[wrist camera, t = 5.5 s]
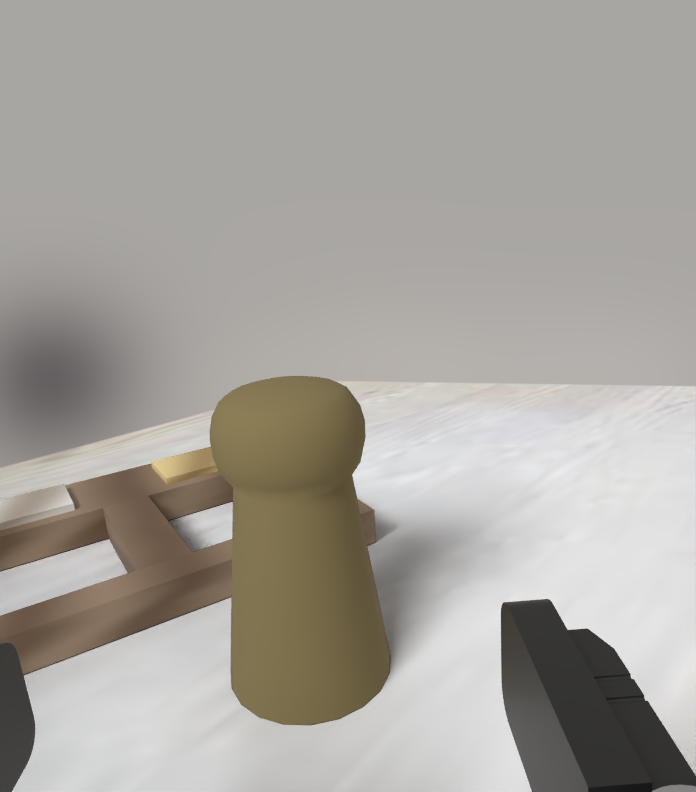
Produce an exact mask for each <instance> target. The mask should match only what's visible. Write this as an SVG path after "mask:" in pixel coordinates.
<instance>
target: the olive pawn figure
mask: <svg viewBox="0 0 696 792" xmlns="http://www.w3.org/2000/svg"><path fill="white" fill-rule="evenodd" d="M364 441H365V419H364V416H363V413H362V410H361V407H360V404H359V403H358V402H357V400H356V399H355V397H354V396H353V395H352V393H351V392H350V391H349V390H348V388H347V387H345V386H343V385H341V384H339V383H337V382H335V381H332V380H330V379H326V378H320V377H307V376H288V377H287V376H286V377H277V378H271V379H265V380H261V381H256V382H252V383H249V384H246V385H243V386H240V387H238V388H237V389H235V390H232V391H231V392H230V393H228V394H227V395H226V396H224V397H223V398H222V400H221V401H219V403H218V405H217V407H216V409H215V411H214V413H213V415H212V419H211V427H210V443H211V450H212V456H213V459H214V462H215V464H216V466H217V469H218V471H219V473H220V475H221V476H222V477H223V478H224V479H225V480H226V481H227V482H228V483H229V484H230V485H231V486H232V487H233V538H232V609H231V685H232V690H233V691H234V693H235V695H236V697H237V698H238V700H239V702H240V703H241V705H243V706H244V707H245V708H247V709H248V710H250V711H251V712H252V713H254V714H255V715H257V716H258V717H260V718H264V719H267V720H270V721H274V722H277V723H280V724H288V725H314V724H318V723H323V722H327V721H332V720H336V719H340V718H342V717H344V716H346V715H348V714H350V713H352V712H354V711H356V710H358V709H360V708H362V707H363V706H364V705H365V704H367V703H368V702H369V701H370V700H371V699H372V698H373V697H374V696H375V695H376V694H377V693H379V692H380V690H381V688H382V686H383V685H384V683H385V681H386V679H387V677H388V675H389V670H390V652H389V648H388V643H387V638H386V633H385V629H384V624H383V619H382V614H381V610H380V605H379V600H378V595H377V591H376V586H375V581H374V577H373V572H372V567H371V562H370V558H369V553H368V548H367V543H366V539H365V534H364V529H363V524H362V520H361V515H360V510H359V505H358V501H357V496H356V491H355V487H354V482H353V477H352V474H353V472H354V471H355V469H356V468H357V466H358V465H359V463H360V461H361V456H362V451H363V446H364Z"/></svg>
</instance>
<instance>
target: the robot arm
mask: <svg viewBox="0 0 696 792" xmlns="http://www.w3.org/2000/svg"><path fill="white" fill-rule="evenodd" d="M501 664H502V691H503V699H504V705H505V710H506V715H507V719H508V722H509V725H510V728H511V731H512V734H513V737H514V740H515V743H516V746H517V749H518V752H519V755H520V757H521V760H522V763H523V766H524V769H525V772H526V775H527V778H528V781H529V784H530V787H531V790H532V792H696V776H695V774H694V772H693V771H692V769H691V768H690V766H689V765H688V763H687V762H686V760H685V758H684V757H683V755H682V754H681V752H680V751H679V749H678V748H677V746H676V744H675V743H674V741H673V740H672V738H671V737H670V735H669V734H668V732H667V730H666V729H665V727H664V726H663V724H662V723H661V721H660V720H659V718H658V716H657V715H656V713H655V712H654V710H653V709H652V707H651V706H650V704H649V702H648V701H645V699H644V695H643V693H642V691H641V690H640V688H639V687H638V685H637V684H636V682H635V681H634V679H631V676H630V673H629V671H628V670H627V668H626V667H625V665H624V663H623V662H622V660H621V659H620V657H619V656H618V654H617V653H616V651H615V649H614V648H612V647H611V646H610V645H608V644H607V643H606V642H604V641H603V640H602V639H600V638H599V637H598V636H597V635H595V634H594V633H593V632H591V631H590V630H589V629H577V630H567V628H566V627H565V625H564V623H563V621H562V620H561V618H560V616H559V614H558V612H557V611H556V609H555V607H554V605H553V604H552V602H551V601H550V600H549V599H543V600H530V601H517V602H504V603H503V604H502V608H501ZM34 738H35V721H34V716H33V712H32V708H31V704H30V700H29V696H28V692H27V688H26V684H25V680H24V676H23V672H22V668H21V664H20V660H19V656H18V653H17V651H16V649H15V647H14V646H13V645H12V644H11V643H0V792H12V790H13V788H14V787H15V785H16V783H17V781H18V779H19V778H20V776H21V774H22V772H23V770H24V769H25V767H26V765H27V763H28V761H29V758H30V756H31V753H32V749H33V745H34Z"/></svg>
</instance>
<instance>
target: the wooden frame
mask: <svg viewBox="0 0 696 792" xmlns="http://www.w3.org/2000/svg"><path fill="white" fill-rule="evenodd" d="M231 501H233V487H232V486H231V485H230V484H229V483H228V482H227V481H226V480H225V479H224V478H223V477H222V476H221V475H220V473H219V471H218V469H217V466H216V464H215V462H214V459H213V456H212V450H211V447H208V448H204V449H200V450H196V451H192V452H188V453H184V454H180V455H176V456H172V457H168V458H164V459H160V460H156V461H152V462H151V464H148V465H144V466H140V467H136V468H132V469H128V470H124V471H120V472H116V473H112V474H108V475H104V476H101V477H97V478H93V479H89V480H85V481H81V482H77V483H73V484H69V485H64V484H61V485H57V486H53V487H50V488H46V489H42V490H38V491H34V492H30V493H26V494H22V495H18V496H14V497H10V498H6V499H2V500H0V571H1V570H5V569H8V568H11V567H15V566H18V565H21V564H25V563H28V562H31V561H35V560H38V559H41V558H45V557H48V556H51V555H55V554H58V553H61V552H65V551H68V550H71V549H75V548H78V547H81V546H85V545H88V544H91V543H95V542H98V541H101V540H105V539H108V538H109V540H110V541H111V543H112V545H113V547H114V549H115V550H116V552H117V554H118V556H119V558H120V560H121V561H122V563H123V565H124V567H125V569H126V570H127V572H128V574H125V575H122V576H119V577H116V578H113V579H110V580H107V581H104V582H101V583H98V584H95V585H92V586H89V587H86V588H83V589H80V590H77V591H74V592H71V593H68V594H65V595H62V596H59V597H56V598H53V599H50V600H47V601H44V602H41V603H38V604H35V605H31V606H28V607H25V608H22V609H19V610H16V611H13V612H10V613H7V614H4V615H1V616H0V643H11V644H12V645H13V646H14V647H15V649H16V651H17V653H18V656H19V660H20V664H21V668H22V672H23V675H24V674H27V673H29V672H32V671H35V670H37V669H40V668H42V667H45V666H48V665H50V664H53V663H56V662H58V661H61V660H64V659H66V658H69V657H72V656H74V655H77V654H80V653H82V652H85V651H88V650H90V649H93V648H96V647H98V646H101V645H104V644H106V643H109V642H112V641H114V640H117V639H119V638H122V637H125V636H127V635H130V634H133V633H135V632H138V631H141V630H143V629H146V628H149V627H151V626H154V625H157V624H159V623H162V622H165V621H167V620H170V619H173V618H175V617H178V616H181V615H183V614H186V613H188V612H191V611H194V610H196V609H199V608H202V607H204V606H207V605H210V604H212V603H215V602H218V601H220V600H223V599H226V598H228V597H231V596H232V539H231V540H228V541H225V542H222V543H219V544H216V545H213V546H210V547H207V548H204V549H201V550H198V551H195V552H192V551H191V550H190V548H189V547H188V546H187V545H186V543H185V542H184V541H183V540H182V538H181V537H180V536H179V534H178V533H177V532H176V531H175V529H174V528H173V527H172V526H171V524H170V523H169V522H168V520H171V519H174V518H178V517H181V516H184V515H188V514H191V513H194V512H198V511H201V510H204V509H208V508H211V507H214V506H218V505H221V504H224V503H228V502H231ZM357 501H358V505H359V510H360V515H361V520H362V524H363V529H364V534H365V539H366V543H367V545H369V544H372V543H374V542H376V535H375V518H374V509H372V508H371V507H369V506H367V505H366V504H364V503H363V502H361V501H360V500H358V499H357Z"/></svg>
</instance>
